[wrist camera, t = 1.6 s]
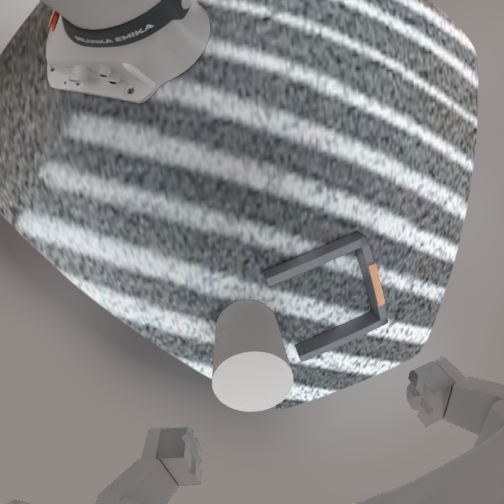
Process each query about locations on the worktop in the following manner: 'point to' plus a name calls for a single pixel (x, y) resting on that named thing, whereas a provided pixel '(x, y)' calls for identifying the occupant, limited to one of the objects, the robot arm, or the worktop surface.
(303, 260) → the bracket
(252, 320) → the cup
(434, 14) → the worktop surface
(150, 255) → the worktop surface
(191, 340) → the worktop surface
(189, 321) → the worktop surface
